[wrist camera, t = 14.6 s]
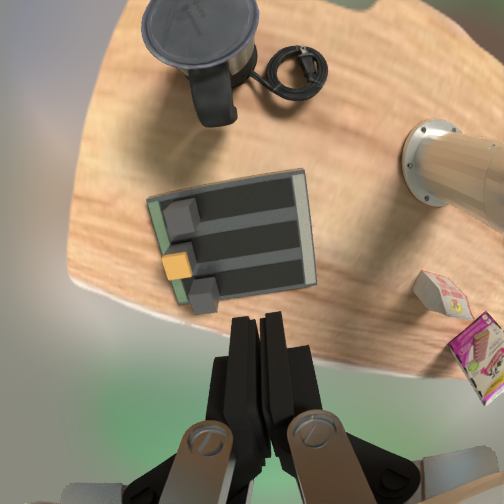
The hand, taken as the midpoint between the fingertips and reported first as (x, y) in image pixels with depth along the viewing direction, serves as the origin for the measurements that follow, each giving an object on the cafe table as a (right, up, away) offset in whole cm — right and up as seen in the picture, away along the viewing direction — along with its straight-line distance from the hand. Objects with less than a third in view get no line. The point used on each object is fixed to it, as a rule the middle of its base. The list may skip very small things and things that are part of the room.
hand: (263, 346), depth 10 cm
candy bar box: (+45, -13, +38) cm, 60 cm away
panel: (-3, +5, +30) cm, 30 cm away
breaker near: (-9, +8, +26) cm, 29 cm away
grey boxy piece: (+29, -2, +33) cm, 44 cm away
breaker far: (-7, -2, +30) cm, 31 cm away
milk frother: (0, +26, +20) cm, 33 cm away
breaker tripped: (-9, +3, +28) cm, 30 cm away
